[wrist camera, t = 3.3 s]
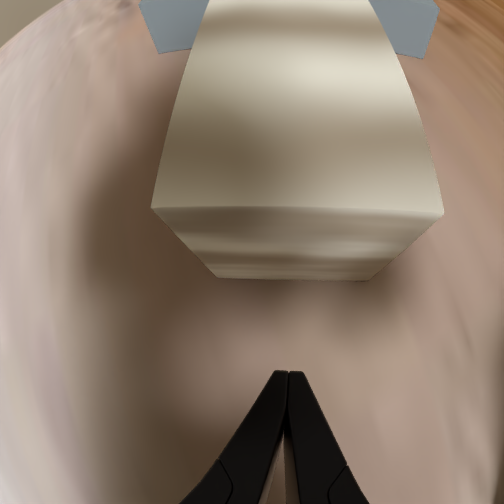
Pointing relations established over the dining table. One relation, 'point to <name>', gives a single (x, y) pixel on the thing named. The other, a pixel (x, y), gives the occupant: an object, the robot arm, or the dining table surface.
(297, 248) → the block
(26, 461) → the dining table surface
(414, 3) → the board
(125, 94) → the dining table surface
